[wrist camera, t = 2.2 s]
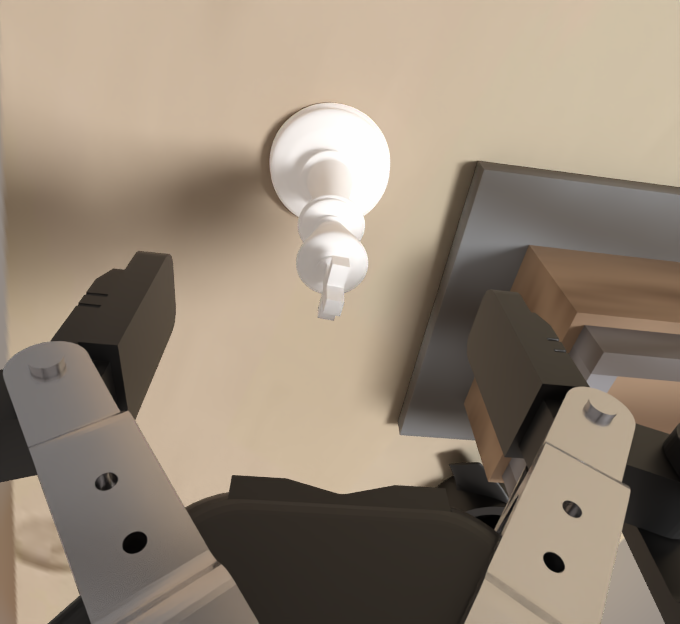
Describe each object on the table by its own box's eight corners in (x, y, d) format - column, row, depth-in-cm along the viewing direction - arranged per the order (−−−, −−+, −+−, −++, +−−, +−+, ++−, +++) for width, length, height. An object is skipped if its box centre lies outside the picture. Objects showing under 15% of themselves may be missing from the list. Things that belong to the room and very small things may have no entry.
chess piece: (261, 207, 21) (221, 364, 13) (281, 87, 18) (245, 191, 10) (370, 231, 22) (397, 393, 14) (406, 120, 19) (466, 241, 11)
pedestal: (477, 160, 20) (544, 249, 14) (824, 206, 22) (1019, 303, 15) (397, 421, 29) (416, 542, 23) (643, 440, 31) (721, 557, 25)
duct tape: (397, 523, 36) (402, 562, 34) (451, 438, 31) (462, 478, 28) (490, 536, 38) (501, 574, 35) (558, 457, 32) (577, 496, 30)
